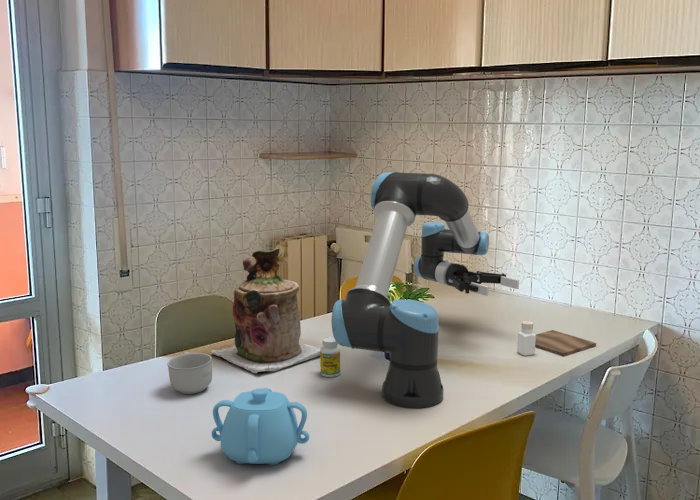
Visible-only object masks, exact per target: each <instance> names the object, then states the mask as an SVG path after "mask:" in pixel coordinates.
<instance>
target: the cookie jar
mask: <svg viewBox="0 0 700 500" xmlns="http://www.w3.org/2000/svg"><path fill="white" fill-rule="evenodd" d="M279 255H280V248H279V247H276V248H274V249H272V250H264V249H263V250H262V249H259V250H258V249H257V251H255V252H252V254H251V256H249V257H246V258H245V259H243V261H242V264H243V265H242V266H243V270H244V272H245V271H246V272H248V274H247V275H246V279H245V280H243V281H241V282H240V284H239V285H237V286H236V287H235V289H234V291H233V302H232V317H233V319H234V320H233V321H234V322H233V323H234V327H235V335H234V345H233V346H229V347H227V348H222V349H212V350H211V351H210V353H211V354H212V355H214V356H217V357H221V358H222V359H224V360H226V361H227V362H229V363H231V364H234V365H235V366H238V367H241V368H243V369H244V370H247V371H249V372H251V373H253V374H257V373H260V372H278V371H279V370H282V369H286V368H287V367H290V366H293V365H297V364H299V363H302V362H305V361H308V360H311V359H314V358H318V357H320V349H321V347H319V346H314V345H310V344H306V343H302V342H300V339H301V334H302V332H301V330H302V328H301V313H300V310H299V305H298V297H297V295H298V293H299V291H300V285H299V284H298V282H296V281H293V280H289V279H284V278H283V277H282V276H280V275H278V270H279V268H280V266H281V263H280V261H279V260H280V257H279Z"/></svg>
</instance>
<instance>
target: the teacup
mask: <svg viewBox="0 0 700 500" xmlns="http://www.w3.org/2000/svg"><path fill="white" fill-rule="evenodd" d="M212 361H213V357H212V356H211V355H210V354H207V353H204V352H203V353H202V352H189V351H183V353H182V354H179V355H176V356H173V357H172V358H170V359H169V360H168V361H167V363H166V364H167V369H168V377H169V382H170V385H171V387H172V388H173V389H174V390H175V391H177V392H178V393H181V394H184V395H193V394H198V393H201V392H204V390H205V389H207V387H208V386H209V385H211V383H212V380H213V364H212Z"/></svg>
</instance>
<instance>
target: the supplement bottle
mask: <svg viewBox="0 0 700 500" xmlns="http://www.w3.org/2000/svg"><path fill="white" fill-rule="evenodd" d="M320 348H321V349H320V356H319V357H320V359H319V360H320V362H319V363H320V364H319V365H320V367H319V369H320V375H321V376H323V377H324V378H325V377H326V378H335V377H338V376H339V375H341V348H340V347H339V344H338V343H337V342H336V341H335V339H334V337H325V338H323V339H322V346H321V347H320Z"/></svg>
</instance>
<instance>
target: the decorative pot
mask: <svg viewBox="0 0 700 500" xmlns="http://www.w3.org/2000/svg"><path fill="white" fill-rule="evenodd" d="M221 407H228V408H229V409H228V410H227V412H226V416H225V418H224V421H222V419H221V417H220V414H219V413H220V412H219V409H220V408H221ZM294 409H297V410H299V411H300V412H301V418H300V423H299V424H298V418H297V416H296V413H295V410H294ZM212 416H213V420H214V423H215V425H216V427H214V428H213V429H212V430H211V438H212V439H213V440H215V441H216V442H220V447H221V450H222V452H223V453H224V454H225V456H226V457H227V458H228V459H230V460H232V461H234V462H235V463H236V464H239V465H242V464H255V465H256V464H257V465H260V464H268V465H273V466H274V465H278V464H280V463H281V462H282V461H285V460H287V459H288V458H289V457H290V456H291V454H292V453H293V452H294V450H295V448H296V447H297V445H298V444H301V445H304V444H306V443H307V442H308V441H309V440H310V433H309V432H308V431H306V430H303V429H304V427H305V424H306V421H307V418H308V411H307V408H306V407H305V405H304V404H302V403H300V402H297V401H290V400H289V399H288V397H287V395H285V394H284V393H281V392H277V391H273V390H272V389H271V388H268V387H262V388H254V389H252V390H251V391H244V392H241V393H239V394H238V395H236V397H235V398H234V399H233V400H230V399H224V400H220V401H219V402H217V403H216V404H215V405H214V407H213V408H212ZM218 433H219V434H218ZM301 435H303V436H304V437H302V436H301Z"/></svg>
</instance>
